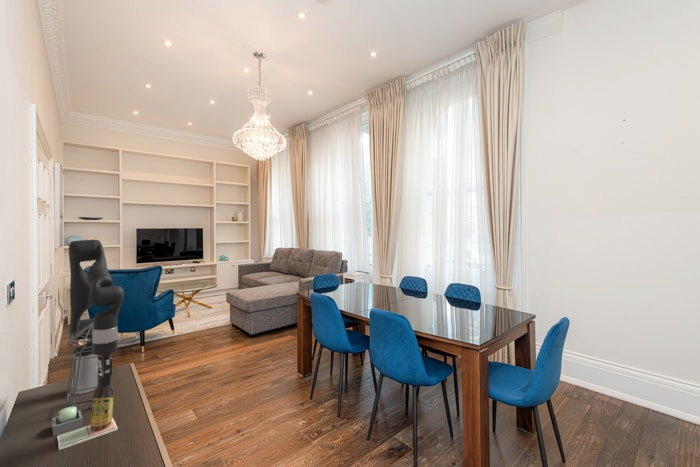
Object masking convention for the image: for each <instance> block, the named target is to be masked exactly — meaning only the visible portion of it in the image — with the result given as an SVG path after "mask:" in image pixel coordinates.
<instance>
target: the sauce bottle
mask: <svg viewBox="0 0 700 467" xmlns="http://www.w3.org/2000/svg"><path fill="white" fill-rule="evenodd" d="M108 372H109V370H107V372H105V373H108ZM112 376H113V374H112V375H110V385H109V386H106V387H102V373H100V374H99V373H98V375H97V379H98V383H97V386H98V387H97V388H96V389H94V390H95V391H94V393H93V396H92V398H93V400H92V402H93V403H91V404H92V405H91V407H92V408H91V418H90V425H91V429H92V430H95V431H96V430H101V429H105V428H107V427H108V426H109V425H110V424H111V421H112V418H113V409H114V397H115V396H114V395H115V394H114V391H115V390H114V387H113V386H112Z"/></svg>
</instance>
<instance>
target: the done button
mask: <svg viewBox="0 0 700 467" xmlns="http://www.w3.org/2000/svg"><path fill="white" fill-rule="evenodd" d="M76 411H77V407H73V406H68V407H65V408H63V409H61V410H59V411H58V416H59V422H58V424H62V423H65V422H68V421H71V420H75V419H76Z"/></svg>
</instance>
